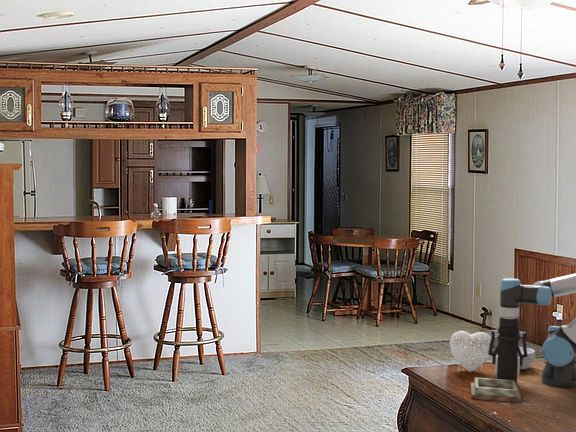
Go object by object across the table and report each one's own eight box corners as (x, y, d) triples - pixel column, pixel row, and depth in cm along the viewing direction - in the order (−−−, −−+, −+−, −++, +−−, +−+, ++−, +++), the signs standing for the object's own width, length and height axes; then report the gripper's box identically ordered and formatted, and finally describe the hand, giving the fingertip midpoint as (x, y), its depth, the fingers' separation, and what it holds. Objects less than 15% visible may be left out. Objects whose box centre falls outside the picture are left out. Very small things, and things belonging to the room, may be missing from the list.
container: (515, 381, 349) (517, 332, 348) (519, 387, 340) (521, 337, 339) (494, 380, 350) (496, 331, 348) (497, 385, 341) (499, 336, 339)
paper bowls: (491, 364, 378) (492, 346, 377) (519, 362, 384) (520, 344, 383) (513, 372, 364) (514, 354, 364) (542, 370, 370) (542, 352, 370)
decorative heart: (448, 373, 360) (450, 332, 359) (448, 367, 371) (449, 328, 370) (492, 375, 358) (494, 335, 356) (490, 369, 368) (492, 330, 367)
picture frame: (517, 389, 336) (518, 379, 336) (520, 402, 319) (521, 391, 318) (470, 386, 340) (471, 376, 339) (471, 398, 322) (471, 388, 322)
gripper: (535, 316, 345) (532, 372, 346) (482, 314, 349) (480, 369, 350) (536, 320, 337) (534, 377, 339) (482, 317, 341) (480, 373, 343)
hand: (507, 373), depth 344 cm, fingers closed on container, 8 cm apart
